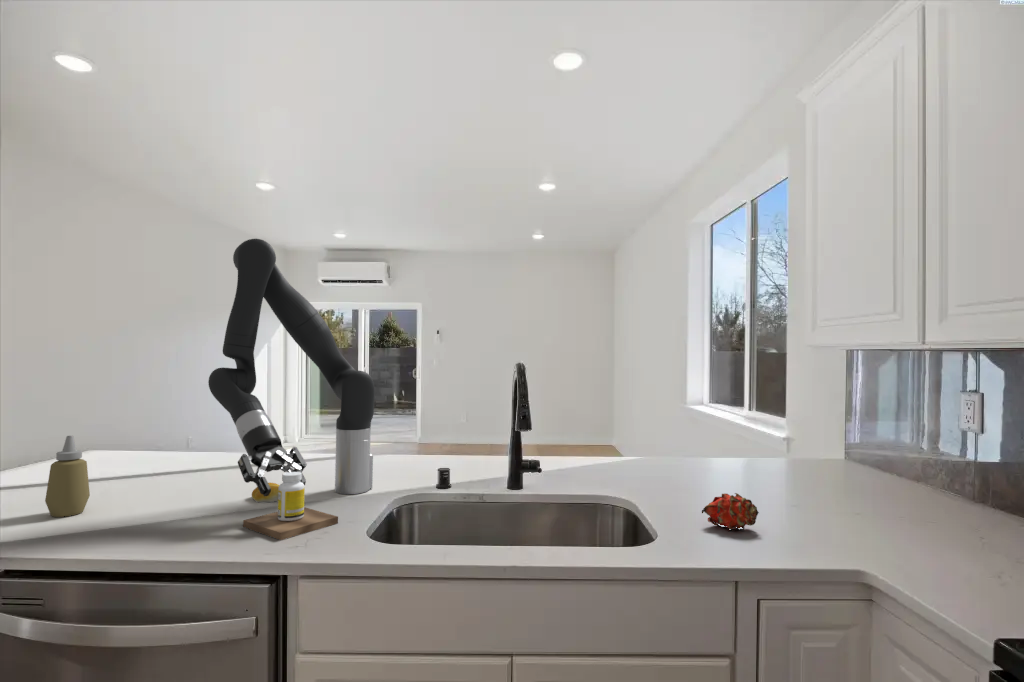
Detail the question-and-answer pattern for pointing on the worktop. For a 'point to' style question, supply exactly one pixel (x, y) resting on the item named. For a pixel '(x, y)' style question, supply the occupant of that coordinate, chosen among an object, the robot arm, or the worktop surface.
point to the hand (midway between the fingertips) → (285, 490)
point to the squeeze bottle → (68, 482)
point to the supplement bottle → (291, 497)
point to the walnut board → (290, 524)
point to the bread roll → (271, 497)
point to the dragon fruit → (731, 511)
